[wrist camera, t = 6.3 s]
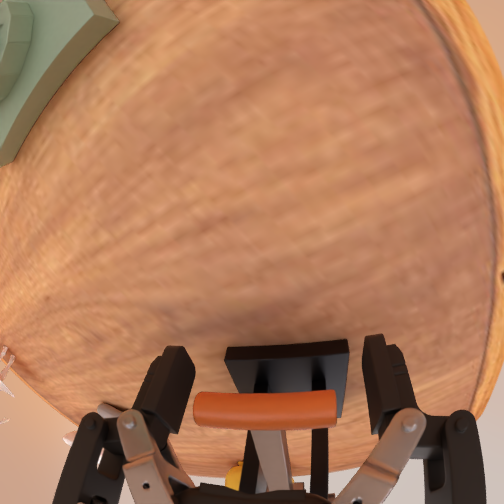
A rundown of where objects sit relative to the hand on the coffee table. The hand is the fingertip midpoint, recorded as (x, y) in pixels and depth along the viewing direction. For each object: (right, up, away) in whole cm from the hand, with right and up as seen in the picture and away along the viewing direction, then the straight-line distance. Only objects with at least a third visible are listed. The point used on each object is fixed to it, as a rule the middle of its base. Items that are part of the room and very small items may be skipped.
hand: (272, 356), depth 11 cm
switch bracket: (+2, -6, +8) cm, 10 cm away
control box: (-15, +17, -3) cm, 23 cm away
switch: (+1, -6, 0) cm, 6 cm away
